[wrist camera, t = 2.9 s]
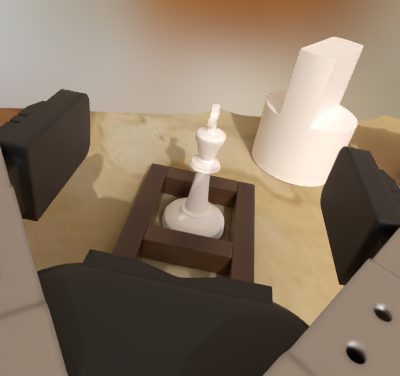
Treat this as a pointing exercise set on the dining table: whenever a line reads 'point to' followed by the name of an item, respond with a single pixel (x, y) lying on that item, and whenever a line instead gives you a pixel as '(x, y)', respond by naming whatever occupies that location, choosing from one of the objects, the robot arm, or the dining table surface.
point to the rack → (187, 242)
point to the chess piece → (200, 187)
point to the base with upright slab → (308, 116)
